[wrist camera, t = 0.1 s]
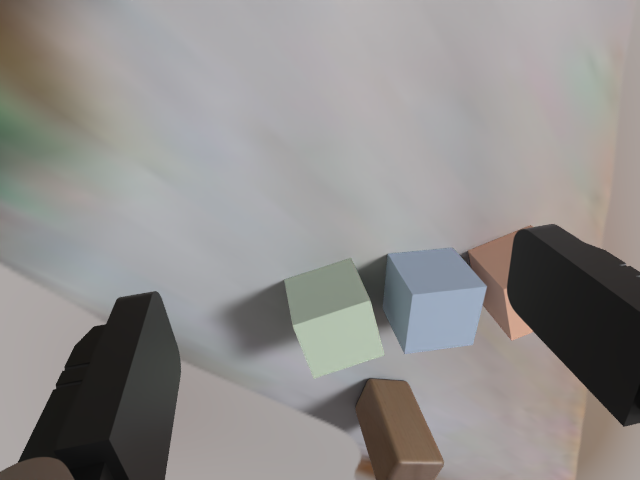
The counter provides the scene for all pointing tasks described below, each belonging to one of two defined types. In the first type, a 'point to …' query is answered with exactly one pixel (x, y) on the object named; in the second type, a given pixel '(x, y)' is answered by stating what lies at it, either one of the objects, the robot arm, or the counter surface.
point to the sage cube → (333, 318)
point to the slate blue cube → (432, 299)
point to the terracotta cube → (498, 283)
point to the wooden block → (396, 432)
